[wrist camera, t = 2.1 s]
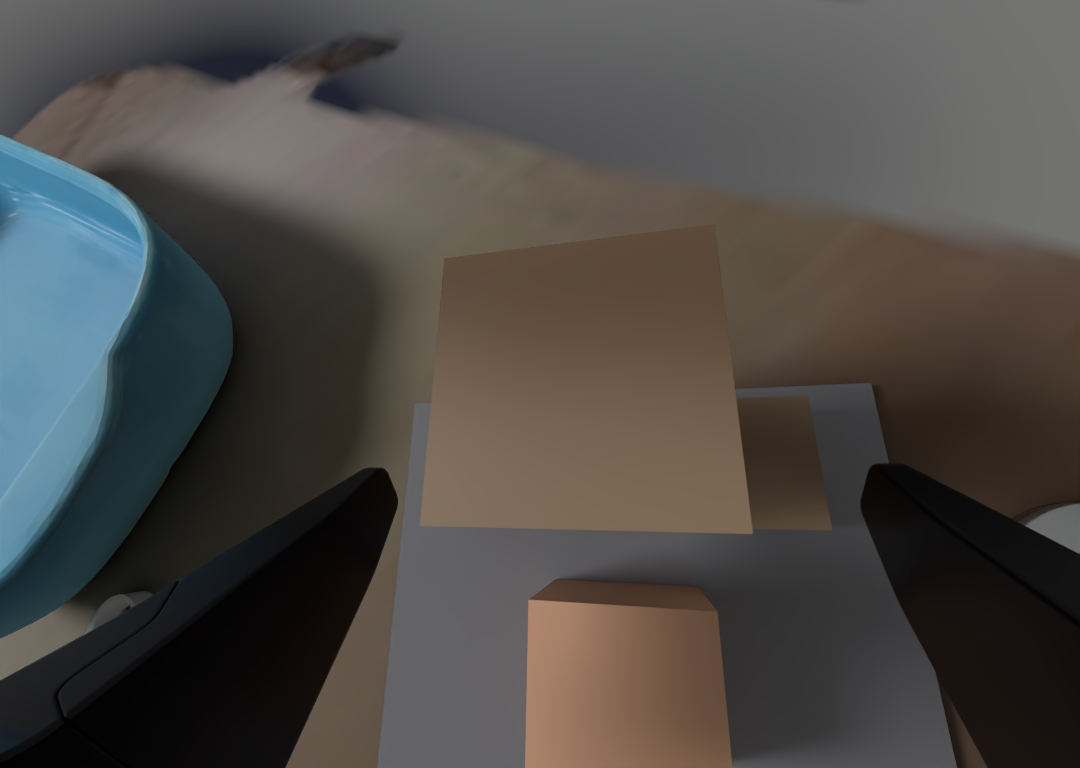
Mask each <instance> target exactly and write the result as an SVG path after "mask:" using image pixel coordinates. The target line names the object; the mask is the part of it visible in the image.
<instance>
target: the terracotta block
mask: <svg viewBox="0 0 1080 768" xmlns="http://www.w3.org/2000/svg"><path fill="white" fill-rule="evenodd" d="M525 768H732V758H731V747H730V737H729V727H728V716H727V706H726V695H725V685H724V675H723V664H722V654H721V643H720V633H719V623H718V612H717V610H716V609H715V608H714V606H713V605H712V604H711V603H710V601H709V600H708V599H707V597H706V596H705V595H704V593H703V592H702V591H701V590H700V588H699V587H698V586H679V585H659V584H640V583H620V582H600V581H581V580H561V579H555V580H554V581H552V582H551V583H550V584H549V585H547V586H546V587H545V588H543V589H542V590H541V591H539V592H538V593H537V594H535V595H534V596H533V597H531V598H530V599H529V600H528V647H527V695H526V743H525Z"/></svg>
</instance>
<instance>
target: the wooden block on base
mask: <svg viewBox="0 0 1080 768" xmlns="http://www.w3.org/2000/svg"><path fill="white" fill-rule="evenodd" d="M420 526H446V527H486V528H527V529H568V530H609V531H649V532H690V533H731V534H753V529H785V530H830V531H832V527H831V521H830V515H829V510H828V504H827V498H826V492H825V487H824V481H823V475H822V470H821V464H820V458H819V453H818V447H817V441H816V436H815V430H814V424H813V419H812V413H811V407H810V402H809V396H808V395H799V396H775V397H750V398H736V393H735V384H734V376H733V368H732V360H731V352H730V344H729V336H728V328H727V320H726V312H725V304H724V296H723V288H722V280H721V272H720V264H719V256H718V248H717V240H716V232H715V224H713V225H706V226H698V227H690V228H682V229H674V230H666V231H658V232H650V233H642V234H634V235H626V236H618V237H611V238H603V239H595V240H587V241H579V242H571V243H563V244H555V245H547V246H539V247H531V248H523V249H515V250H508V251H500V252H492V253H484V254H476V255H468V256H460V257H452V258H444V269H443V280H442V291H441V301H440V312H439V323H438V334H437V344H436V355H435V366H434V377H433V388H432V398H431V409H430V420H429V431H428V441H427V452H426V463H425V474H424V485H423V495H422V506H421V517H420Z"/></svg>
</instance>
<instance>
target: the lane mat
mask: <svg viewBox="0 0 1080 768" xmlns="http://www.w3.org/2000/svg"><path fill="white" fill-rule="evenodd" d="M735 393H736V398H750V397H775V396H799V395H808V396H809V402H810V407H811V413H812V419H813V424H814V430H815V436H816V441H817V447H818V453H819V458H820V464H821V470H822V475H823V481H824V487H825V492H826V498H827V504H828V510H829V515H830V521H831V527H832V531H830V530H785V529H753V534H731V533H690V532H649V531H609V530H568V529H527V528H486V527H446V526H420V517H421V506H422V495H423V485H424V474H425V463H426V452H427V441H428V431H429V420H430V409H431V403H415V409H414V418H413V428H412V437H411V447H410V457H409V466H408V476H407V485H406V495H405V505H404V514H403V524H402V533H401V543H400V553H399V562H398V572H397V581H396V591H395V601H394V610H393V620H392V629H391V639H390V649H389V658H388V668H387V677H386V687H385V697H384V706H383V716H382V725H381V735H380V745H379V754H378V764H377V768H525V743H526V695H527V647H528V600H529V599H530V598H531V597H533V596H534V595H535V594H537V593H538V592H539V591H541V590H542V589H543V588H545V587H546V586H547V585H549V584H550V583H551V582H552V581H554V580H555V579H561V580H581V581H600V582H620V583H640V584H659V585H679V586H698V587H699V588H700V590H701V591H702V592H703V593H704V595H705V596H706V597H707V599H708V600H709V601H710V603H711V604H712V605H713V606H714V608H715V609H716V610H717V612H718V623H719V633H720V643H721V654H722V664H723V675H724V685H725V695H726V706H727V716H728V727H729V737H730V747H731V758H732V768H957V765H956V761H955V757H954V752H953V748H952V743H951V739H950V734H949V730H948V725H947V721H946V716H945V712H944V707H943V703H942V698H941V694H940V689H939V685H938V680H937V676H936V671H935V670H934V668H933V666H932V664H931V662H930V660H929V659H928V657H927V655H926V653H925V651H924V649H923V647H922V646H921V644H920V642H919V640H918V638H917V636H916V635H915V633H914V631H913V629H912V627H911V625H910V624H909V622H908V620H907V618H906V616H905V614H904V612H903V610H902V608H901V606H900V604H899V602H898V600H897V598H896V595H895V593H894V591H893V589H892V586H891V584H890V581H889V579H888V577H887V574H886V572H885V569H884V567H883V564H882V562H881V560H880V557H879V555H878V552H877V550H876V547H875V545H874V542H873V540H872V538H871V535H870V533H869V530H868V528H867V525H866V523H865V520H864V518H863V516H862V512H861V507H860V500H861V496H862V492H863V488H864V485H865V481H866V477H867V473H868V470H869V468H870V467H871V466H872V465H873V464H876V463H889V460H888V456H887V452H886V447H885V443H884V438H883V434H882V429H881V425H880V420H879V416H878V411H877V407H876V402H875V398H874V393H873V389H872V384H871V383H855V384H833V385H811V386H789V387H767V388H745V389H735Z"/></svg>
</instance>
